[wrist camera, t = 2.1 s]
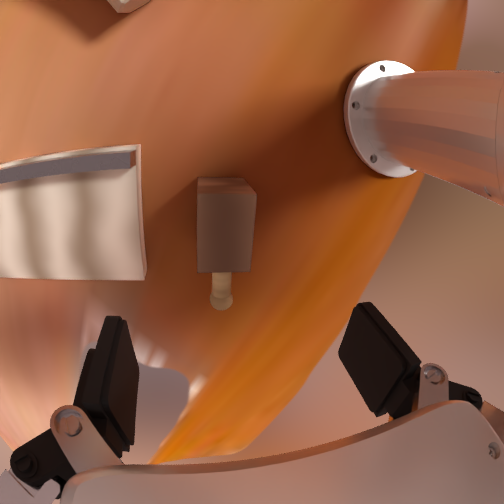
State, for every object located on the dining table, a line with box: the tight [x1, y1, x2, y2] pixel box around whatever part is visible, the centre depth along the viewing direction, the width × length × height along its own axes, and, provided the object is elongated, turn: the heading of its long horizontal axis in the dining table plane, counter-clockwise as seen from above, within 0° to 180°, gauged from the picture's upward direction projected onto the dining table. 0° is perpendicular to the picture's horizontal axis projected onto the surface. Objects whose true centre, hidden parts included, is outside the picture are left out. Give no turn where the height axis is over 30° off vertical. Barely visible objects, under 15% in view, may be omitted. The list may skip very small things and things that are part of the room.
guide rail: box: [0, 150, 136, 184], centre depth 16 cm, size 22×1×2 cm, turn 85°
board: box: [0, 144, 147, 280], centre depth 20 cm, size 22×12×2 cm, turn 85°
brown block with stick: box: [197, 177, 257, 310], centre depth 23 cm, size 4×10×6 cm, turn 175°
